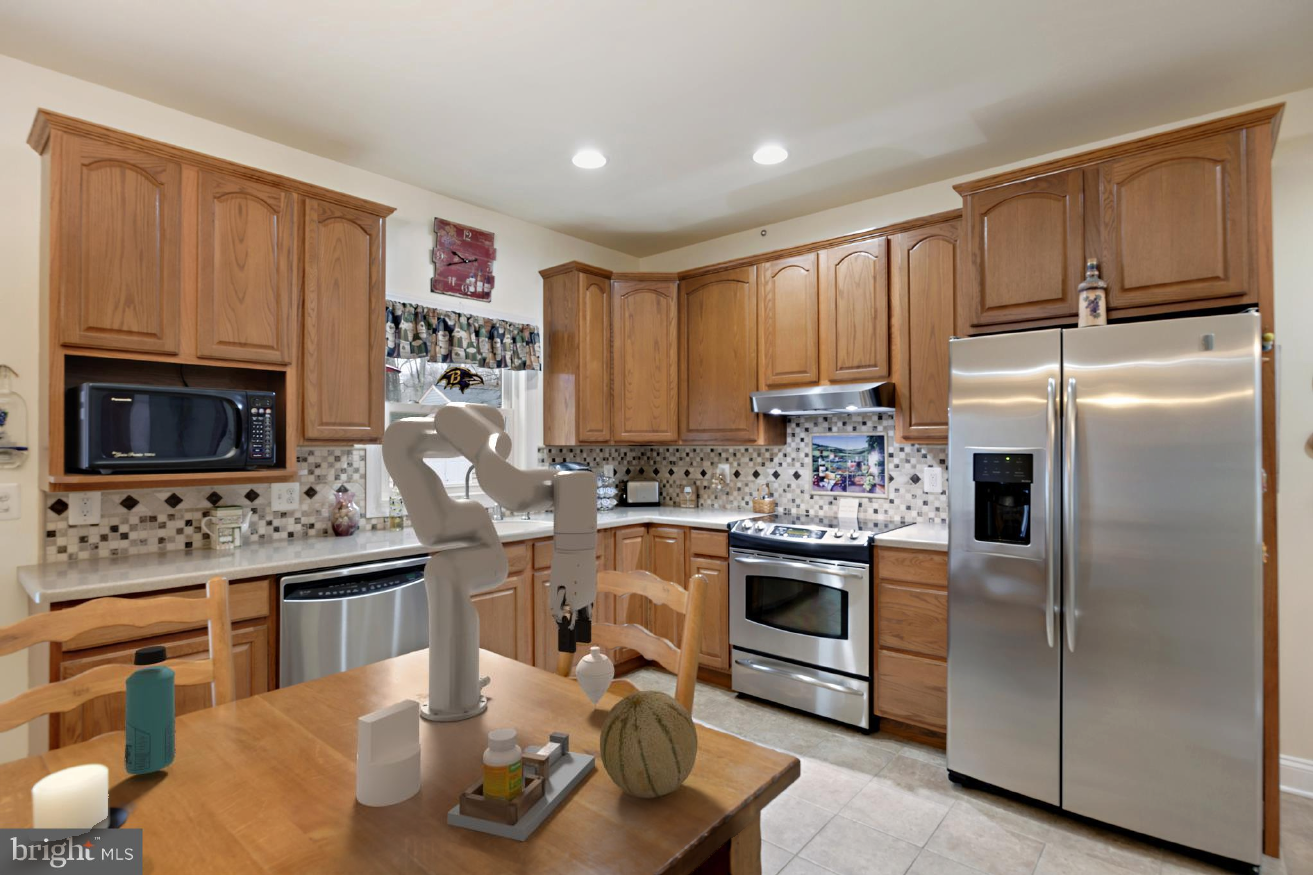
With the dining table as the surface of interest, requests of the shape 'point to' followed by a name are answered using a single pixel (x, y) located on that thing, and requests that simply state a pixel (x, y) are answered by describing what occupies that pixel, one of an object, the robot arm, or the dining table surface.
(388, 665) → the dining table surface
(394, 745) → the cylinder with rectangular tab
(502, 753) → the supplement bottle
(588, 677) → the spinning top
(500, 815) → the socket
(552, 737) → the pin
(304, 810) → the dining table surface
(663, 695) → the cantaloupe
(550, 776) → the dock board
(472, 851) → the dining table surface
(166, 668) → the beverage bottle
